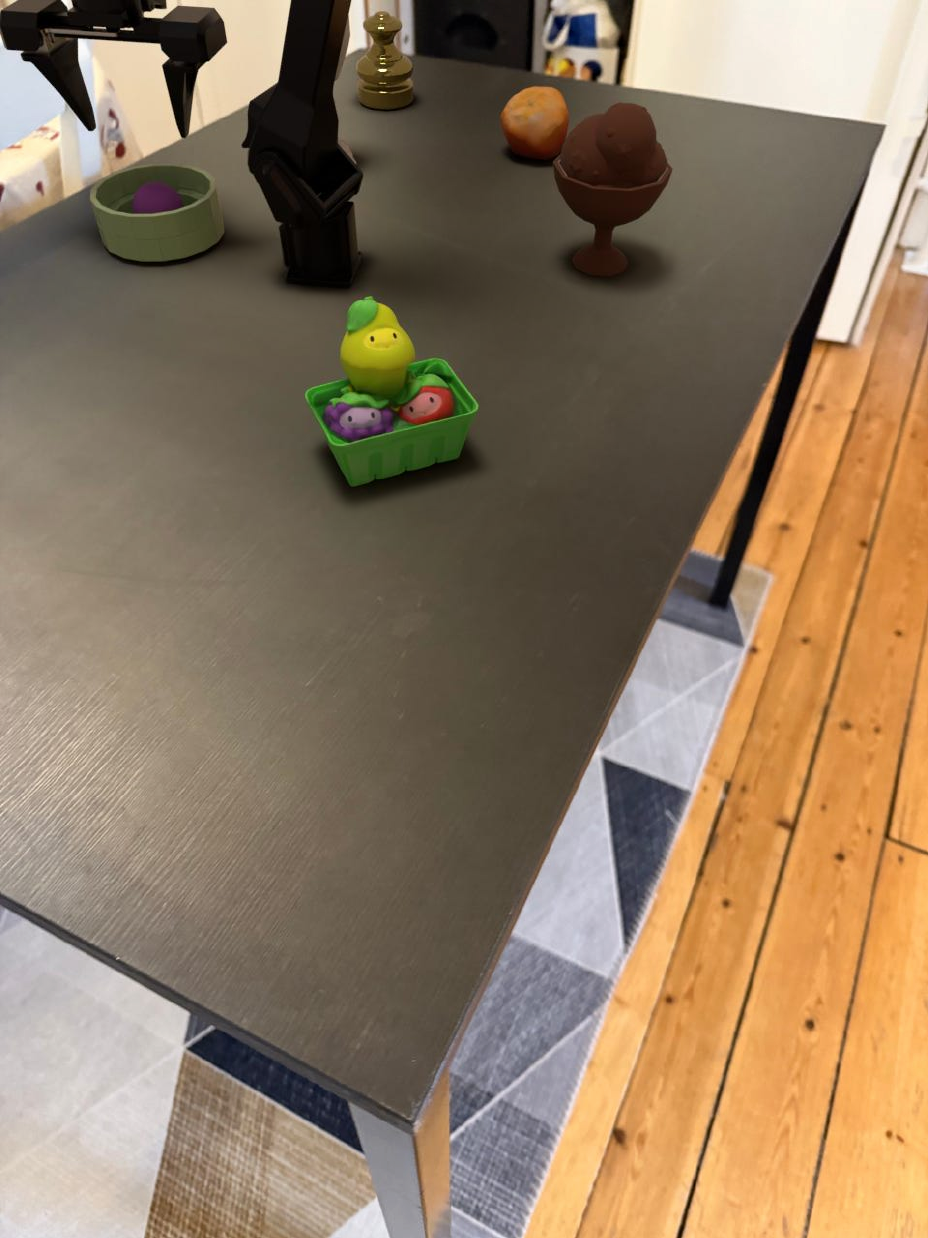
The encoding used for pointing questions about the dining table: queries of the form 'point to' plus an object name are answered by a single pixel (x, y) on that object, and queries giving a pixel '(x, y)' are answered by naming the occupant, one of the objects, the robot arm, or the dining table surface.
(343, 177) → the robot arm
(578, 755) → the dining table surface
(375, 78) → the gold chess piece
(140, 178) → the green bowl
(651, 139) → the ice cream bowl
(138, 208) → the ball
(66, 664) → the dining table surface
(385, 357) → the fruit basket
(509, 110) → the fruit
